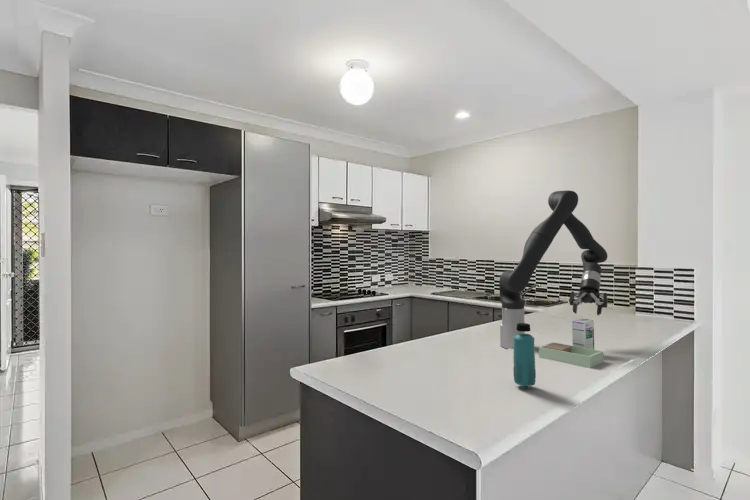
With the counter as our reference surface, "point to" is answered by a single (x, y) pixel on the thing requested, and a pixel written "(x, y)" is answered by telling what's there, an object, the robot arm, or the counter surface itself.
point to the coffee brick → (559, 347)
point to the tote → (573, 355)
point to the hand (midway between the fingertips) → (586, 313)
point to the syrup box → (583, 333)
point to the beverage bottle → (524, 356)
